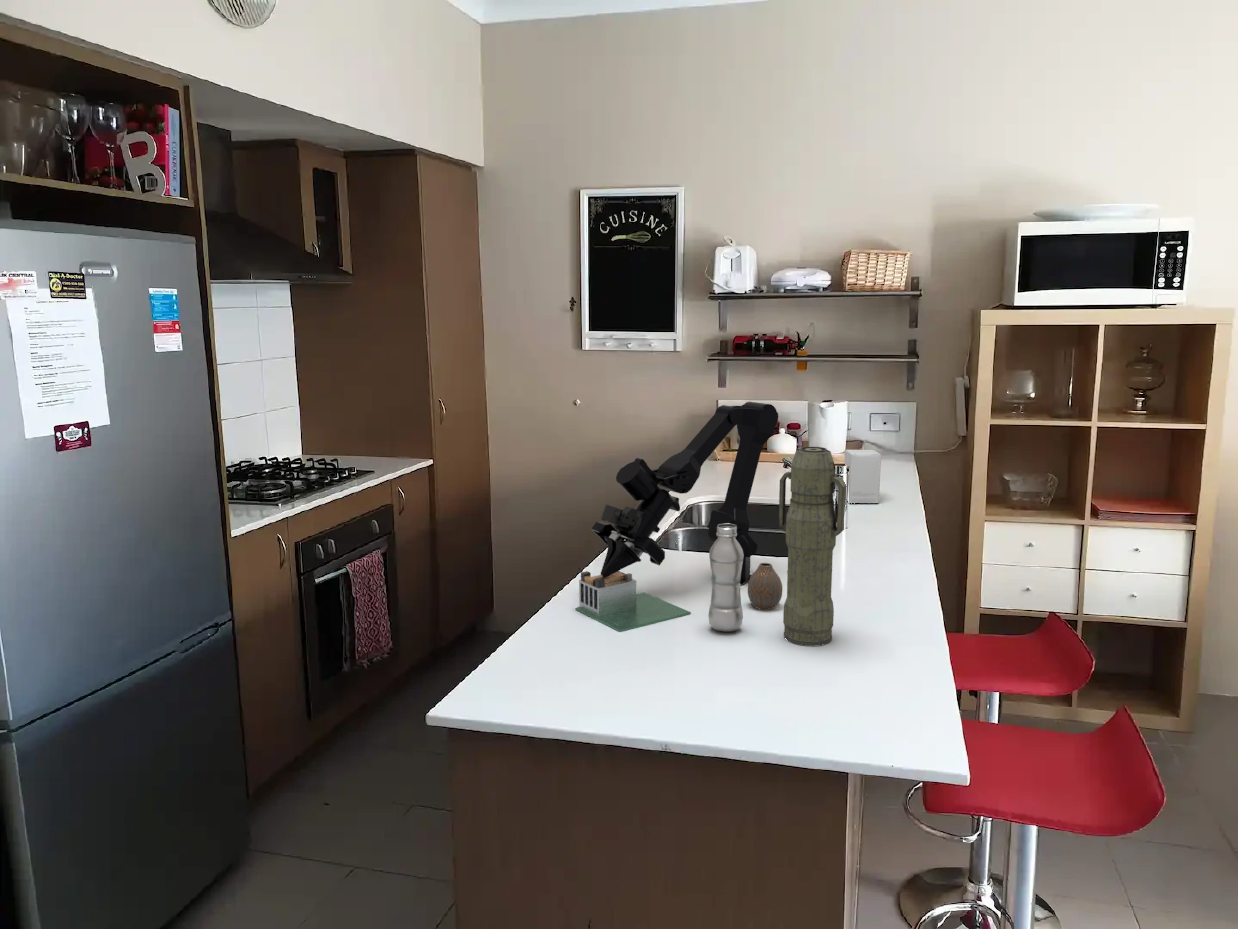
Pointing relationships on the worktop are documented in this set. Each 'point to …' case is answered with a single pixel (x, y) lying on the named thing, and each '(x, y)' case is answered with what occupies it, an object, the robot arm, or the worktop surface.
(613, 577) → the tan flat bar
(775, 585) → the vase
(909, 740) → the worktop surface
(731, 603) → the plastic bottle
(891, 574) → the worktop surface
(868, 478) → the supplement box
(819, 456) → the thermos
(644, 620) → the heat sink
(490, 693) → the worktop surface
